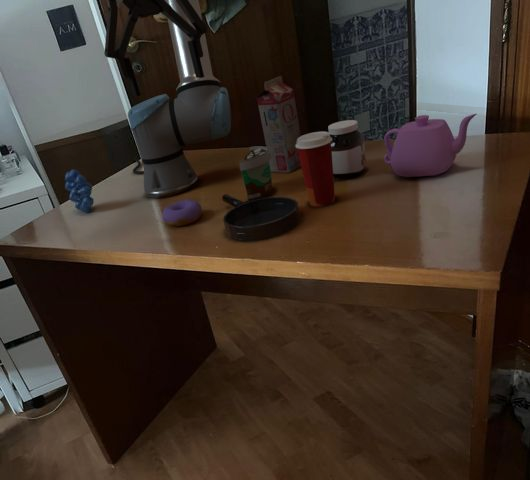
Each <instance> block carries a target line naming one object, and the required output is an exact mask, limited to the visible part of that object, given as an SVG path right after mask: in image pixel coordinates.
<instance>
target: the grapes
mask: <svg viewBox="0 0 530 480" xmlns="http://www.w3.org/2000/svg"><path fill="white" fill-rule="evenodd" d="M64 180H65V185H64V189H65V190H67V191H68V192H70V193H69V195H68V200H69V201H71V202H72V203H75V204H74V208H76V209H77V210H79V211H82V212H84V213H89V212H90V211H91V208H92V206H93V205H94V198H93V197H92V196H91V195H92V191H93V185H92V184H91V183H90V182H88V181H87V177H85V176H84V175H83V174H81V173H80V171H78V170H77V169H75V168H72V169H70V171H67V172H66V173H65V175H64Z"/></svg>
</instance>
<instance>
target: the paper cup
mask: <svg viewBox="0 0 530 480" xmlns="http://www.w3.org/2000/svg"><path fill="white" fill-rule="evenodd" d="M331 141H332V138H331V137H330V134H329V131H314V132H310V133H306V134H303V135H301V137H299V138H298V139H297V144H296V145H295V146H296V148H297V149H298V153H299V158H300V162H301V166H300V168H301V171H302V172H301V173H302V176H303V180H304V184H305V190H306V194H307V199H308V202H309V205H310V206H311V207H317V208H318V207H324V206H328V205H331V204H333V203H334V202H335V201H336V198H335V197H336V194H335V180H334V179H335V178H334V177H333V163H332V150H331Z"/></svg>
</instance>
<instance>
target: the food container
mask: <svg viewBox="0 0 530 480" xmlns="http://www.w3.org/2000/svg"><path fill="white" fill-rule="evenodd" d="M271 158H272V157H271V154H270V152H269V150H268V149H267V148H266V146H264V145H263V146H261V145H255V146H249V153H248V154H246V155H244V158H243V160H238V163H239V170H240V172H241V175H242V179H243V184H244V187H245V191H246V195H247V199H248V201H253V200H257V199H262V198H268V197H269V196H271V195H272V194H273V193H274V189H273V181H272V173H271V172H272V171H271V168H270V162H269V161H270V160H271Z"/></svg>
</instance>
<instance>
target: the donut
mask: <svg viewBox="0 0 530 480" xmlns="http://www.w3.org/2000/svg"><path fill="white" fill-rule="evenodd" d="M202 214H203V209H202V205H201V204H200V203H199V202H198V201H196V200H192V199H184V200H183V199H182V200H179V201H177V202H174V203H172V204H169V205H168V206H166V207H165V208H164V209H163V211H162V214H161V217H162V220H163V221H164V223H165V224H167V225H168V226H171V227H180V226H181V227H183V226H186V225H190V224H192V223H195V222H196V221H198V220H199V219H200V218H201V216H202Z"/></svg>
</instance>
